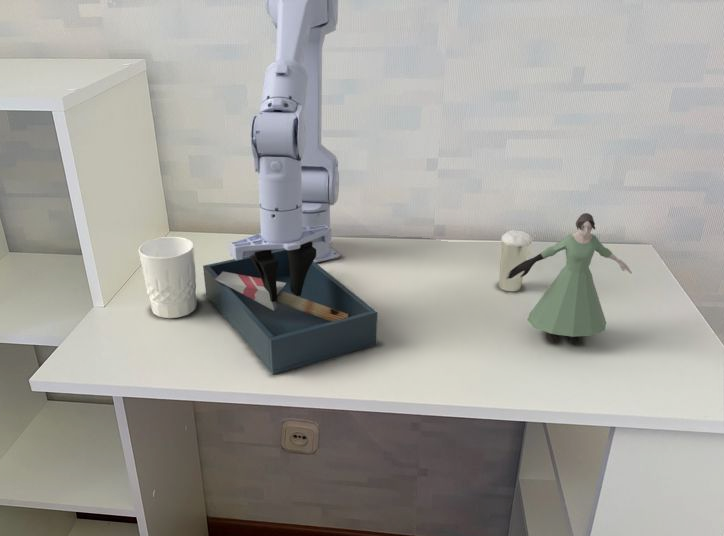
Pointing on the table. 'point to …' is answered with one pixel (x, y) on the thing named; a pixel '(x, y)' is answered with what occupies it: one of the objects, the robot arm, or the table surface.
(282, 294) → the paintbrush
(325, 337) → the tub
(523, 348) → the table surface
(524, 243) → the milkshake
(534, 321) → the character figurine
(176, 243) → the white cup
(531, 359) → the table surface
